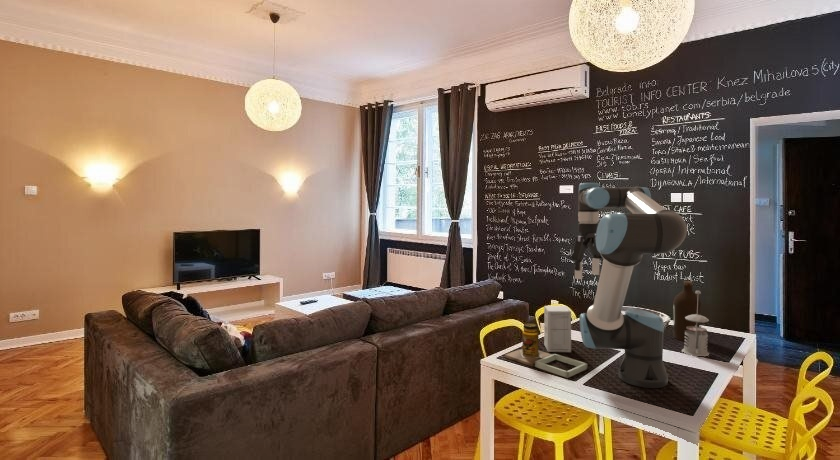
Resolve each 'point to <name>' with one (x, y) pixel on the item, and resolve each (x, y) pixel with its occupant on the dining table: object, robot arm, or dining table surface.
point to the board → (528, 361)
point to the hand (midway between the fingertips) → (587, 276)
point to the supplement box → (557, 328)
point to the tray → (580, 367)
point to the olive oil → (685, 310)
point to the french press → (696, 335)
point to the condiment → (530, 341)
